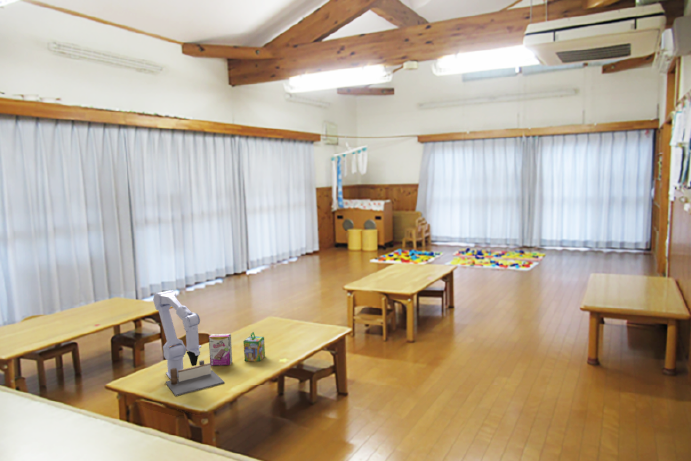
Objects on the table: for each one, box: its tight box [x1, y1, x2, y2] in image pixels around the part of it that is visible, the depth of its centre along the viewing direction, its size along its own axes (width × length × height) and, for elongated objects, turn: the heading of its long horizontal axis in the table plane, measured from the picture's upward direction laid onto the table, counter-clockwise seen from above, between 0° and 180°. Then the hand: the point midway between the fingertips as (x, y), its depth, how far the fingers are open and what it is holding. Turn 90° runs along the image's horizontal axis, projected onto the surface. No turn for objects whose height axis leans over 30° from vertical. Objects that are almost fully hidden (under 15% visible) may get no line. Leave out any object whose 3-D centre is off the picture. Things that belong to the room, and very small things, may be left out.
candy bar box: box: [208, 333, 233, 367], centre depth 258 cm, size 11×5×16 cm, turn 92°
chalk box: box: [243, 331, 266, 362], centre depth 265 cm, size 9×9×15 cm
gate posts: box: [170, 359, 205, 385], centre depth 238 cm, size 3×17×8 cm, turn 133°
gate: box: [177, 362, 212, 382], centre depth 239 cm, size 16×1×5 cm, turn 125°
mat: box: [165, 369, 225, 397], centre depth 235 cm, size 18×24×1 cm
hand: (194, 365), depth 234 cm, fingers closed
